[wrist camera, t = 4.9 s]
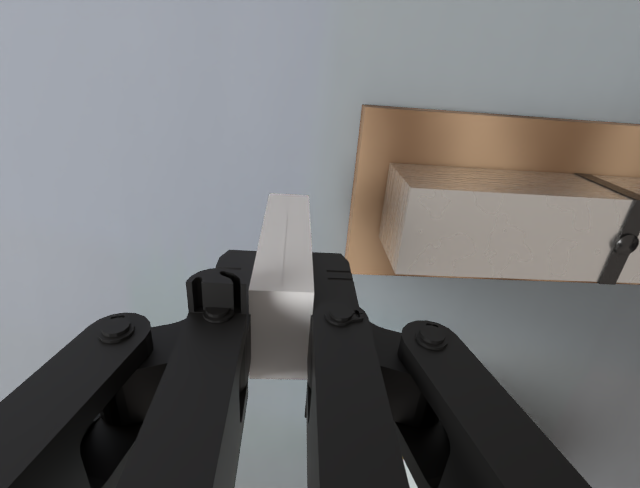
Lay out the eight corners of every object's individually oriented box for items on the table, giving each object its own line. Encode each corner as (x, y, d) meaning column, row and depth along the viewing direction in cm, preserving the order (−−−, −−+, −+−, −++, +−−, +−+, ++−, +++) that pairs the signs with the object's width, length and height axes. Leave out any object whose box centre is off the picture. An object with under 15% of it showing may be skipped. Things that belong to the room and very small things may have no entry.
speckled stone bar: (378, 237, 21) (396, 277, 17) (389, 162, 19) (412, 188, 15) (654, 249, 22) (727, 289, 18) (689, 179, 20) (778, 208, 17)
